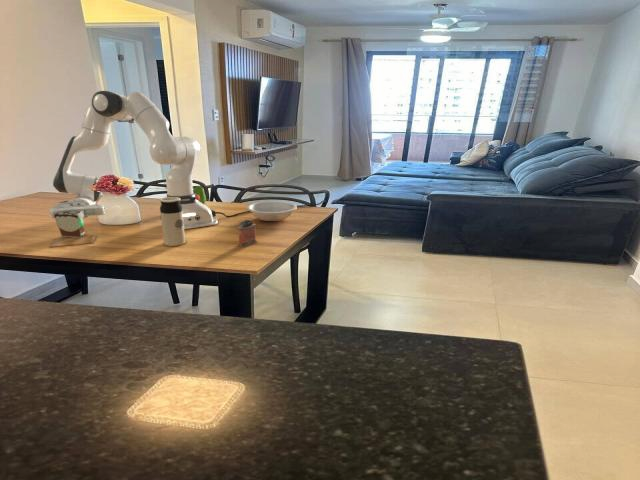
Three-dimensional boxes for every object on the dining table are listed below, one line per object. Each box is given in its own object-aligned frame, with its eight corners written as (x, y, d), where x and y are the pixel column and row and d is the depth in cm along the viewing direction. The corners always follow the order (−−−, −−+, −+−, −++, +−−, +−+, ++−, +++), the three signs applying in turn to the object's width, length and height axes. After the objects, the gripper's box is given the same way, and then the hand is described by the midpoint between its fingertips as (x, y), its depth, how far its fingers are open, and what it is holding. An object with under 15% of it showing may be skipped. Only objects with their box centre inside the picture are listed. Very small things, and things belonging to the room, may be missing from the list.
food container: (95, 232, 160) (90, 209, 156) (84, 237, 154) (78, 213, 150) (70, 231, 162) (64, 208, 158) (58, 236, 156) (52, 212, 153)
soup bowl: (282, 211, 203) (282, 199, 200) (305, 222, 184) (305, 209, 181) (240, 217, 190) (239, 204, 188) (260, 229, 171) (259, 215, 169)
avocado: (206, 208, 204) (205, 186, 200) (191, 209, 202) (189, 187, 198) (206, 205, 212) (204, 184, 208) (191, 206, 209) (189, 184, 206)
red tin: (252, 240, 157) (251, 216, 154) (257, 242, 155) (257, 218, 152) (236, 245, 151) (235, 220, 148) (242, 247, 149) (241, 222, 146)
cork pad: (95, 236, 157) (95, 235, 157) (92, 243, 150) (92, 242, 149) (55, 240, 152) (55, 239, 152) (50, 247, 144) (50, 246, 144)
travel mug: (160, 243, 151) (155, 198, 146) (179, 238, 157) (174, 195, 151) (170, 247, 146) (165, 202, 141) (189, 243, 152) (185, 199, 146)
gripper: (108, 213, 175) (104, 220, 163) (56, 216, 168) (48, 224, 156) (106, 199, 173) (102, 206, 161) (53, 202, 166) (44, 209, 154)
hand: (75, 215), depth 159 cm, fingers closed
